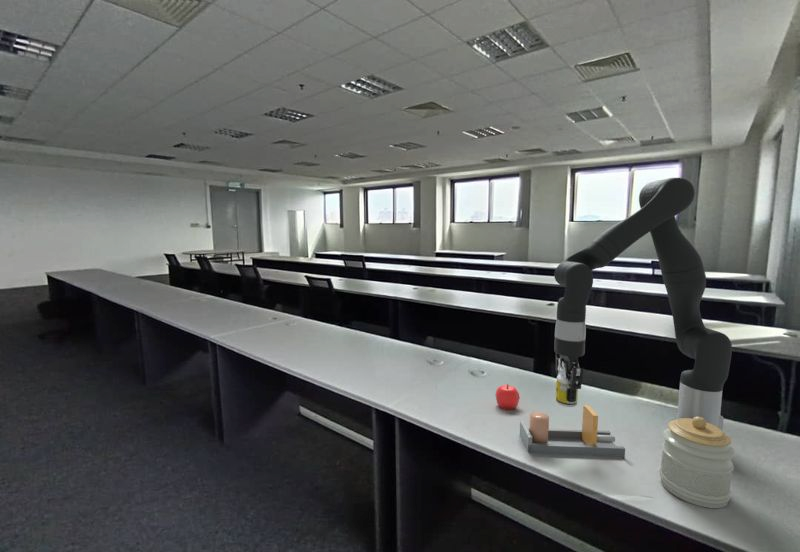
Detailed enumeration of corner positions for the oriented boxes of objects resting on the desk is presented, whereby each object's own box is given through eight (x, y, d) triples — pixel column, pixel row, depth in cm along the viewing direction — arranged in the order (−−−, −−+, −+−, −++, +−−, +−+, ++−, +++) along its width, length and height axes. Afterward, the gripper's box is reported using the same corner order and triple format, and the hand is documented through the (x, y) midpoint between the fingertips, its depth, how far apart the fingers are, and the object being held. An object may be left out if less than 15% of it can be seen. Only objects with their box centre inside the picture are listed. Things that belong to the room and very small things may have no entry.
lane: (608, 440, 109) (609, 423, 108) (624, 458, 100) (625, 440, 99) (519, 437, 110) (520, 420, 110) (527, 454, 101) (528, 437, 101)
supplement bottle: (559, 397, 107) (560, 363, 106) (579, 402, 104) (581, 368, 103) (552, 403, 103) (554, 369, 102) (573, 409, 100) (575, 373, 99)
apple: (490, 404, 132) (490, 382, 131) (508, 400, 135) (509, 378, 134) (505, 414, 124) (505, 390, 124) (524, 409, 128) (525, 386, 127)
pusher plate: (607, 439, 107) (609, 405, 106) (619, 452, 101) (621, 416, 100) (581, 438, 108) (583, 404, 107) (591, 451, 101) (593, 415, 100)
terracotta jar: (544, 438, 108) (545, 412, 107) (550, 448, 103) (551, 420, 102) (526, 438, 108) (527, 411, 107) (531, 448, 103) (532, 420, 102)
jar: (668, 501, 84) (674, 425, 82) (652, 467, 96) (658, 401, 94) (741, 516, 79) (750, 437, 77) (715, 479, 91) (722, 409, 89)
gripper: (596, 344, 94) (592, 409, 96) (573, 329, 108) (570, 386, 110) (565, 343, 95) (562, 408, 97) (547, 329, 109) (544, 385, 111)
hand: (566, 396), depth 103 cm, fingers closed on supplement bottle, 5 cm apart
